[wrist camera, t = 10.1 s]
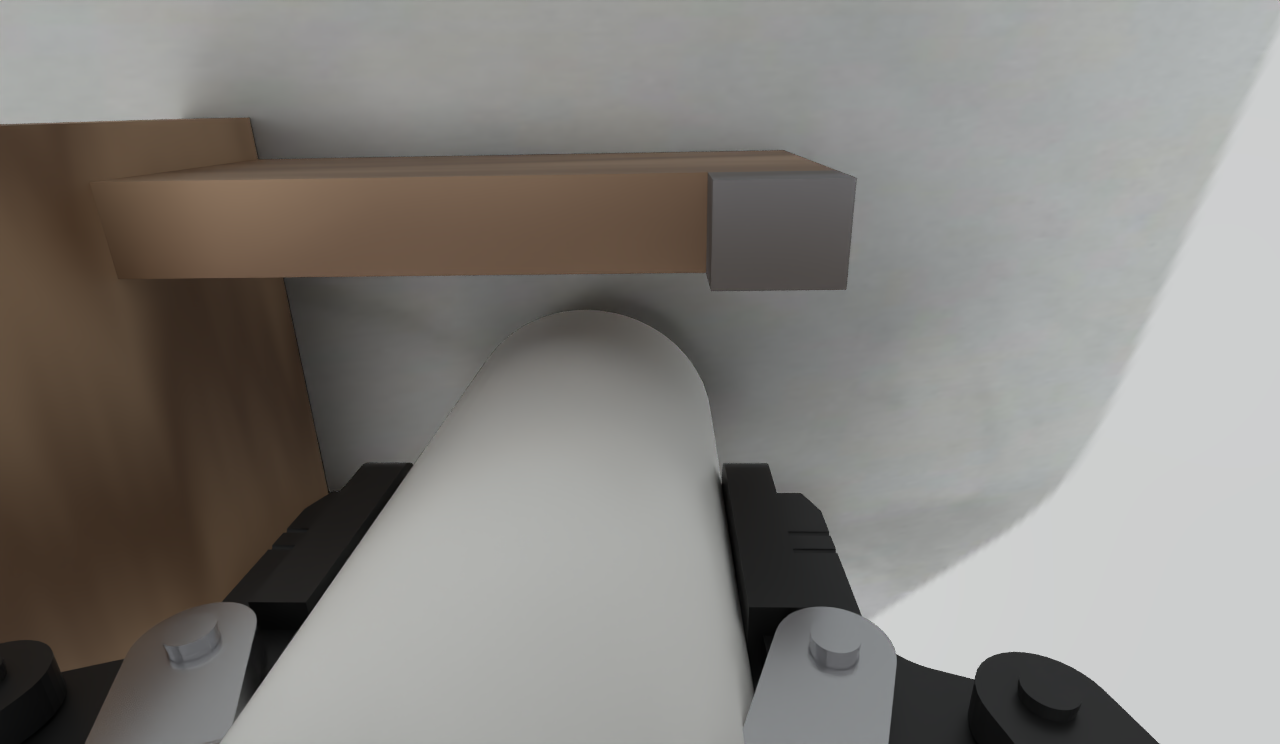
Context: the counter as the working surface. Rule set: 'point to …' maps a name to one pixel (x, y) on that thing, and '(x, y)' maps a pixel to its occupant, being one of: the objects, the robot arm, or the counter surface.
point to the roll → (536, 568)
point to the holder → (281, 325)
